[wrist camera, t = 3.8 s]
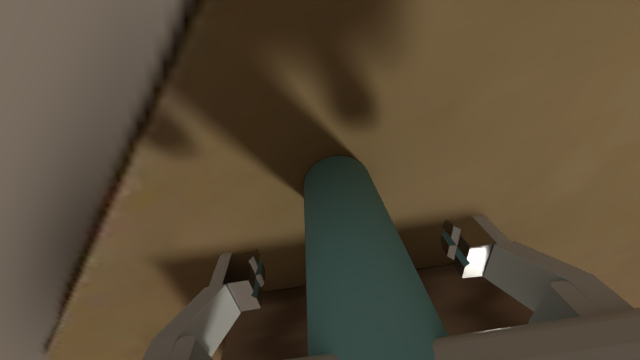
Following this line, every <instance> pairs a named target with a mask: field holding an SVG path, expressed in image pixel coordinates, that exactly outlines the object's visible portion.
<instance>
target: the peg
mask: <svg viewBox="0 0 640 360" xmlns="http://www.w3.org/2000/svg"><path fill="white" fill-rule="evenodd" d="M304 217H305V255H306V292H307V330H308V356H313V355H320V354H328V353H329V354H333V355H335V356H337V357H338V359H339V360H435V356H434V351H433V342H434V340H435V339H436V338H438V337H443V336H448V334H447V332H446V330H445V328H444V326H443V324H442V322H441V320H440V318H439V316H438V314H437V312H436V310H435V307H434V305H433V303H432V301H431V299H430V297H429V295H428V293H427V291H426V289H425V287H424V285H423V283H422V281H421V279H420V277H419V275H418V273H417V271H416V269H415V267H414V265H413V263H412V261H411V259H410V257H409V255H408V252H407V250H406V248H405V246H404V244H403V242H402V240H401V238H400V236H399V234H398V232H397V230H396V228H395V226H394V224H393V222H392V220H391V218H390V216H389V214H388V212H387V210H386V208H385V206H384V204H383V202H382V200H381V197H380V195H379V193H378V191H377V189H376V187H375V185H374V183H373V181H372V179H371V177H370V175H369V173H368V171H367V169H366V168H365V166H364V165H363V164H362V163H360V162H359V161H358V160H356V159H354V158H351V157H348V156H331V157H327V158H325V159H322V160H320V161H319V162H317V163H316V164H315V165H313V166H312V167H311V169H310V170H309V171H308V173H307V175H306V177H305V180H304Z"/></svg>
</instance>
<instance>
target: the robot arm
mask: <svg viewBox="0 0 640 360" xmlns="http://www.w3.org/2000/svg"><path fill="white" fill-rule="evenodd" d="M443 228H444V229H445V230H446V231H445V232H444V233H443V234H442V237H441V243H442V247H443V250H444V252H445V253H446V255H447V256H448V257H449V258H451V259H453V260H454V262H453V266H454V267H455V269H456V270H457V272H458V273H459V275H460V276H461V277H462V278H469V277H477V276H483V277H484V278H486V279H487V280H488V281H490V282H491V283H493V284H494V285H496V286H497V287H499V288H500V289H502V290H503V291H504V292H506V293H507V294H509V295H510V296H512V297H513V298H515V299H516V300H518V301H519V302H520V303H522V304H523V305H525V306H526V307H528V308H529V309H531V310H532V311H534V313H533V314H532V316H531V318H530V319H529V322H528V324H525V325H519V326H512V327H505V328H498V329H491V330H484V331H478V332H471V333H464V334H457V335H450V336H443V337H438V338H436V339H435V340H434V342H433V351H434V356H435V360H640V308H633V307H632V306H631V305H630V304H628V303H627V302H626V301H625V300H623V299H622V298H621V297H620V296H619V295H617V294H616V293H615V292H614V291H613V290H611V289H610V288H609V287H608V286H606V285H605V284H604V283H603V282H602V281H600V280H599V279H598V278H597V277H596V276H594V275H593V274H590V273H588V272H586V271H583V270H581V269H579V268H576V267H574V266H572V265H569V264H567V263H565V262H562V261H560V260H558V259H555V258H553V257H551V256H548V255H546V254H544V253H541V252H539V251H537V250H534V249H532V248H530V247H528V246H525V245H523V244H521V243H518V242H516V241H513V242H511V241H510V240H509V239H508V238H507V237H506V236H505V235H504V234H503V233H502V232H501V231H500V230H499V229H498V228H497V227H496V226H495V225H494V224H493V223H492V222H491V221H490V220H489V219H488V218H487V217H486V216H484V215H482V214H481V215H475V216H469V217H462V218H456V219H450V220H446V221H445V222H444V225H443ZM259 257H260V254H259V251H258V249H251V250H243V251H235V252H229V253H222V254H221V255H220V256H219V259H218V262H217V265H216V267H215V270H214V273H213V276H212V278H211V281H210V284H209V287H205V288H204V289H203V290H202V291H201V292H200V293H199V294H198V295H197V296H196V297H195V298H194V299H193V300H192V301H191V302H190V303H189V304H188V305H187V306H186V307H185V308H184V309H183V310H182V311H181V312H180V313H179V314H178V315H177V316H176V317H175V318H174V319H172V320H171V321H170V322H169V323H168V324H167V325H166V326H165V327H164V328H163V329H162V330H161V331H160V332H159V333H158V334H157V335H156V336H155V337H154V338H153V339H152V341H151V343H150V345H149V347H148V349H147V351H146V353H145V355H144V357H143V359H142V360H213V359H212V358H211V356H212V355H213V353H214V352H215V350H216V349H217V348H218V346H219V345H220V343H221V342H222V340H223V339H224V337H225V336H226V334H227V333H228V331H229V330H230V328H231V327H232V325H233V324H234V322H235V321H236V319H237V318H238V316H239V315H240V313H241V312H242V311H247V310H253V309H259V308H261V305H262V298H263V291H262V289H261V287H262V286H263V285H264V284H265V268H264V264H263V261H261V260H259ZM286 360H339V359H338V357H337V356H335V355H333V354H329V353H328V354H320V355H313V356H307V357H300V358H293V359H286Z"/></svg>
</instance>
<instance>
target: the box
mask: <svg viewBox="0 0 640 360" xmlns="http://www.w3.org/2000/svg"><path fill="white" fill-rule="evenodd" d="M416 271H417V273H418V275H419V277H420V279H421V281H422V283H423V285H424V287H425V289H426V291H427V293H428V295H429V297H430V299H431V301H432V303H433V305H434V307H435V310H436V312H437V314H438V316H439V318H440V320H441V322H442V324H443V326H444V328H445V330H446V332H447V334H448V336H450V335H457V334H464V333H471V332H478V331H484V330H491V329H498V328H505V327H512V326H519V325H525V324H528V322H529V319H530V318H531V316H532V314H533V313H534V311H532V310H531V309H529V308H528V307H526V306H525V305H523V304H522V303H520V302H519V301H518V300H516V299H515V298H513V297H512V296H510V295H509V294H507V293H506V292H504V291H503V290H502V289H500V288H499V287H497V286H496V285H494V284H493V283H491V282H490V281H488V280H487V279H486V278H484V277H483V276H477V277H469V278H462V277H461V276H460V275H459V273H458V272H457V270H456V269H455V267H454V266H453V264H452V265H445V266H438V267H431V268H425V269H418V270H416ZM307 356H308V330H307V292H306V286H303V287H297V288H290V289H283V290H276V291H270V292H263V298H262V305H261V308H259V309H253V310H247V311H242V312H241V313H240V315H239V316H238V318H237V319H236V321H235V322H234V324H233V325H232V327H231V328H230V330H229V331H228V333H227V337H226V341H225V345H224V349H223V353H222V358H221V360H286V359H293V358H300V357H307Z"/></svg>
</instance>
